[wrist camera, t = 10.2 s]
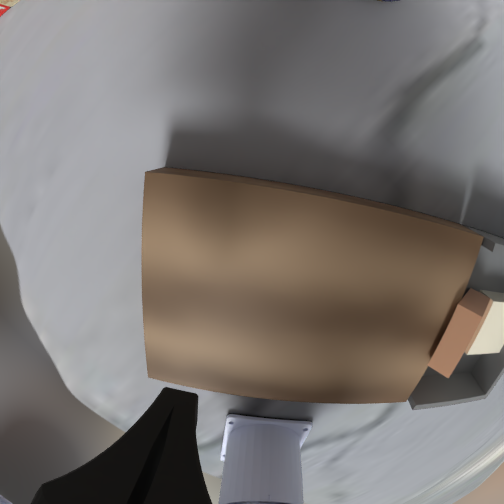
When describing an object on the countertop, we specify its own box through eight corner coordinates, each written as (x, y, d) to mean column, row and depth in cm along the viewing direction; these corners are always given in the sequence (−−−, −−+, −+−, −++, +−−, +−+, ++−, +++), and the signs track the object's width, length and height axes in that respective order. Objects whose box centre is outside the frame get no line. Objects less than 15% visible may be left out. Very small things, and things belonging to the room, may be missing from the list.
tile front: (446, 340, 19) (464, 351, 18) (427, 365, 16) (448, 378, 15) (470, 287, 18) (490, 298, 16) (458, 303, 15) (482, 317, 13)
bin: (469, 373, 21) (485, 398, 18) (398, 377, 21) (412, 410, 18) (527, 247, 17) (555, 263, 13) (462, 224, 17) (495, 243, 13)
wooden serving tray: (395, 377, 21) (406, 401, 19) (159, 352, 21) (148, 377, 18) (459, 223, 17) (483, 236, 14) (164, 167, 16) (145, 171, 14)
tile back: (466, 354, 18) (456, 341, 19) (499, 352, 18) (489, 340, 19) (493, 301, 16) (480, 289, 18) (523, 304, 16) (511, 294, 18)
